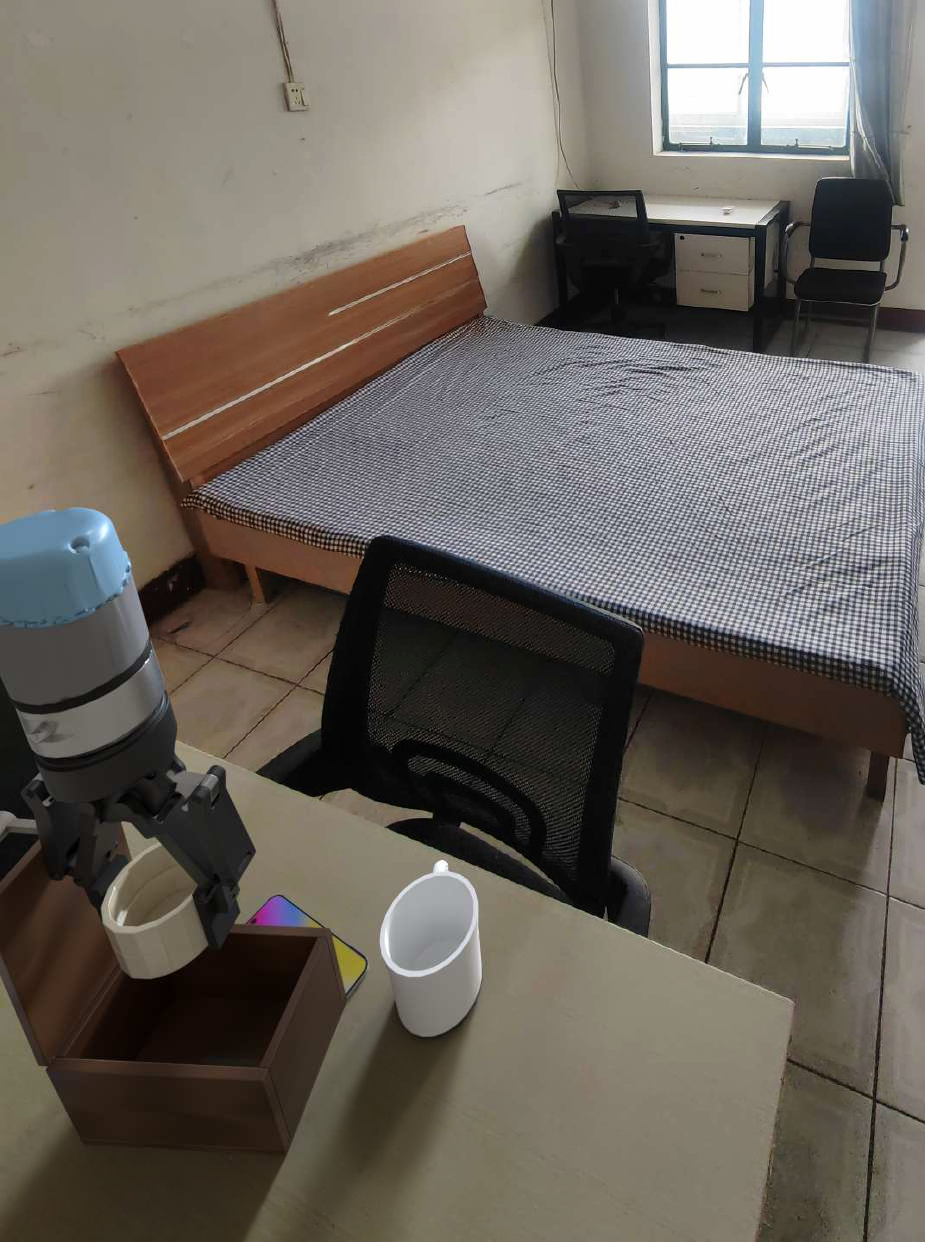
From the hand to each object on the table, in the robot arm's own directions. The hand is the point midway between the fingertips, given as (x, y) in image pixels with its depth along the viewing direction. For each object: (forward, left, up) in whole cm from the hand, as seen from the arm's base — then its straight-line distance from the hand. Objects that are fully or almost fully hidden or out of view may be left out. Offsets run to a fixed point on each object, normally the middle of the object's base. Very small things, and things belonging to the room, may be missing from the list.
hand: (176, 927), depth 56 cm
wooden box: (0, 0, -19) cm, 19 cm away
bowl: (0, 0, 0) cm, 0 cm away
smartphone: (+2, +8, -20) cm, 21 cm away
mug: (+17, +8, -20) cm, 27 cm away
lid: (-8, 0, +1) cm, 8 cm away
